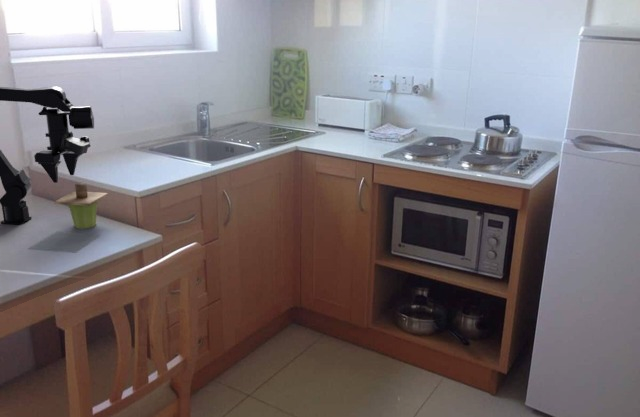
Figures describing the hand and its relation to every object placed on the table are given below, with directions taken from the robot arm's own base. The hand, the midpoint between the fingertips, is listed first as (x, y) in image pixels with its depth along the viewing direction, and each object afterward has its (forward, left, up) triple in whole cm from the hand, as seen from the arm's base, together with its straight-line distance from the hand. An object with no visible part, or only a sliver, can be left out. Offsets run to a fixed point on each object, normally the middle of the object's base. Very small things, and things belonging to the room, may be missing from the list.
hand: (64, 178), depth 180 cm
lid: (+9, -6, -4) cm, 12 cm away
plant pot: (+9, -6, -13) cm, 17 cm away
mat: (+11, -20, -13) cm, 26 cm away
